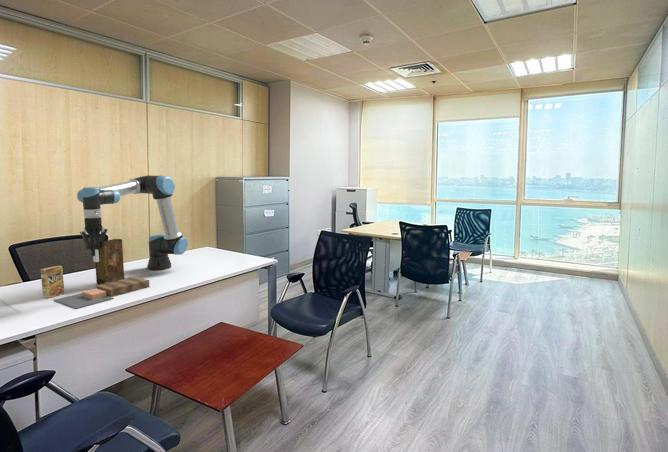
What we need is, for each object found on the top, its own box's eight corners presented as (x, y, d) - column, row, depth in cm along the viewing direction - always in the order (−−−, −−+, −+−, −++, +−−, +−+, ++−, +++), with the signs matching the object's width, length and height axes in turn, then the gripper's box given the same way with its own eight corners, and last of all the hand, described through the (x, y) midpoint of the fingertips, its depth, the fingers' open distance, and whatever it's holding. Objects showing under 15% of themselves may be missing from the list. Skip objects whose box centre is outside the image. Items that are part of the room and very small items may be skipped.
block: (96, 292, 210) (95, 288, 210) (106, 296, 205) (106, 291, 205) (82, 296, 204) (82, 291, 204) (92, 299, 199) (92, 294, 199)
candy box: (47, 298, 201) (45, 269, 199) (42, 297, 203) (39, 268, 200) (65, 293, 209) (62, 266, 207) (59, 292, 211) (57, 265, 209)
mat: (90, 291, 213) (90, 290, 213) (113, 299, 202) (113, 298, 202) (53, 300, 198) (53, 299, 198) (76, 309, 187) (76, 308, 187)
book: (118, 278, 239) (115, 238, 236) (125, 279, 238) (123, 239, 235) (96, 286, 224) (93, 243, 220) (105, 286, 222) (102, 243, 219)
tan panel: (135, 283, 231) (134, 276, 230) (149, 287, 224) (149, 280, 223) (96, 292, 212) (96, 285, 212) (111, 297, 205) (110, 289, 204)
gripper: (83, 219, 194) (87, 265, 197) (109, 216, 205) (112, 260, 208) (75, 217, 198) (79, 263, 201) (101, 215, 209) (104, 258, 212)
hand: (96, 261), depth 205 cm, fingers closed
